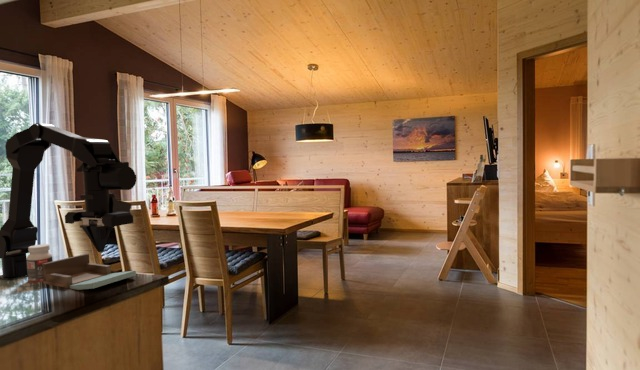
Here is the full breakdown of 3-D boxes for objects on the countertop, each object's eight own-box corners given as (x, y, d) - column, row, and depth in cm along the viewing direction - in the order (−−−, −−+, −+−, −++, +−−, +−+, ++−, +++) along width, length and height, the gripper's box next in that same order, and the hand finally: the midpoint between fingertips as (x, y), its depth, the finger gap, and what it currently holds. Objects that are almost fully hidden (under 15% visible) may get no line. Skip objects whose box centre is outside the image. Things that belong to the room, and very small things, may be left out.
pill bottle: (41, 286, 110) (38, 248, 110) (22, 285, 111) (19, 248, 111) (59, 280, 116) (56, 243, 115) (41, 279, 117) (38, 243, 116)
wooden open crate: (43, 286, 110) (42, 263, 109) (87, 274, 120) (86, 253, 120) (68, 291, 105) (66, 267, 105) (111, 278, 116) (110, 256, 115)
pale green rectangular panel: (69, 285, 105) (92, 283, 101) (113, 273, 115) (135, 270, 111) (70, 290, 105) (93, 288, 101) (113, 277, 115) (136, 275, 111)
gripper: (149, 187, 110) (153, 248, 111) (101, 187, 118) (105, 243, 119) (111, 191, 100) (115, 257, 101) (61, 190, 108) (65, 251, 109)
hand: (100, 251), depth 108 cm, fingers closed
